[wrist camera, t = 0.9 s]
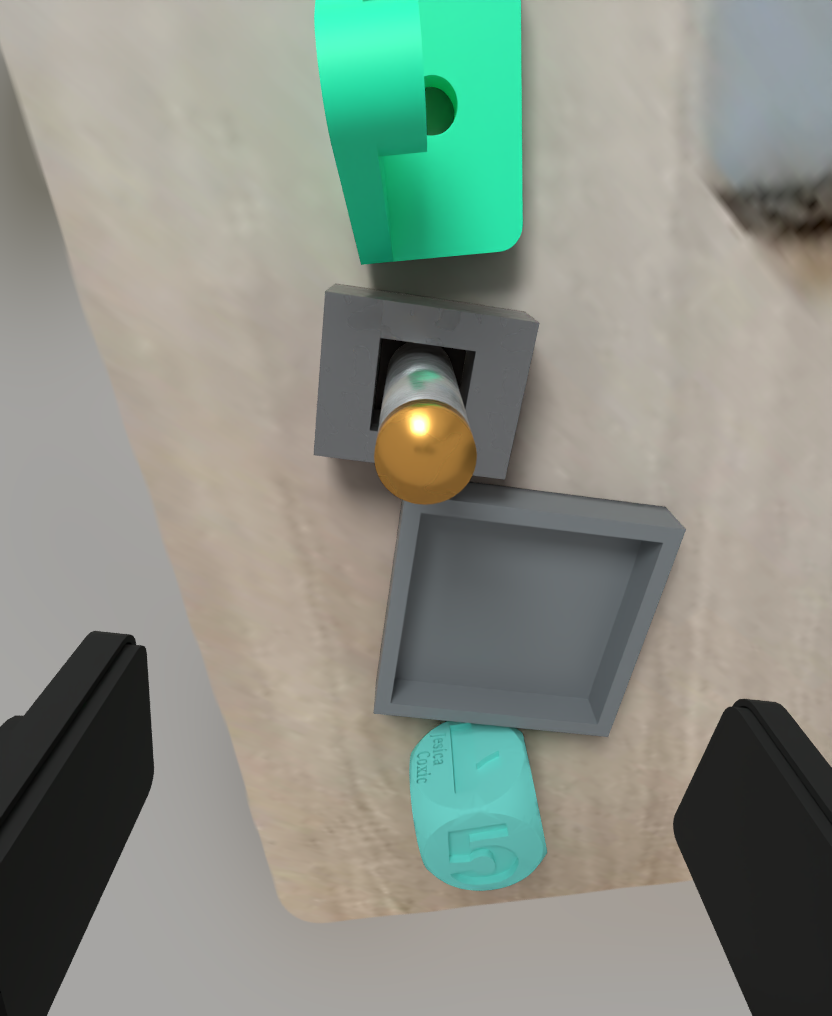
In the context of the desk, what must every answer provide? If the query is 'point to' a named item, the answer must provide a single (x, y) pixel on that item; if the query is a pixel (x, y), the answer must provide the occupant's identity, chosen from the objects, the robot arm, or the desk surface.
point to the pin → (423, 428)
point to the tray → (521, 607)
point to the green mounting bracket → (424, 123)
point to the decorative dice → (475, 806)
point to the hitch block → (382, 314)
